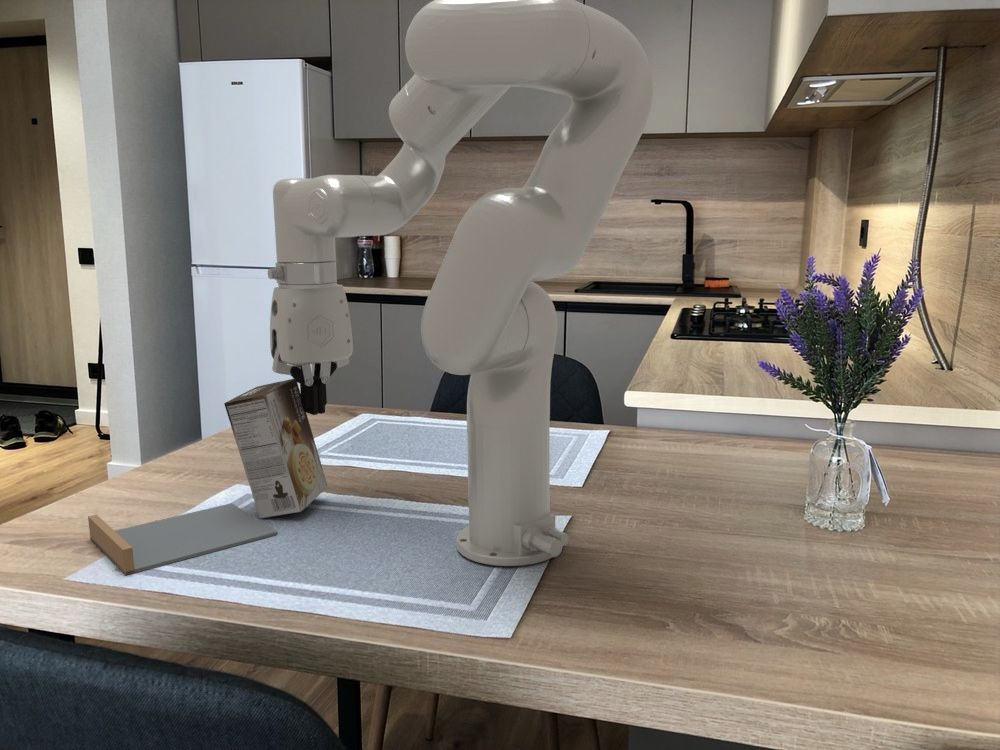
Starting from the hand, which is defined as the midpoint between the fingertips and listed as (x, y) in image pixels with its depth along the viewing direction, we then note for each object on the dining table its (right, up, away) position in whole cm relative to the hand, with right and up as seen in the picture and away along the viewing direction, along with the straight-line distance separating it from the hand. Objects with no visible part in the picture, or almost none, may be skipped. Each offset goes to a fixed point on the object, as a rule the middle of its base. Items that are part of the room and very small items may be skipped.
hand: (314, 412), depth 113 cm
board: (-14, -15, -9) cm, 23 cm away
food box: (-3, -12, 0) cm, 13 cm away
